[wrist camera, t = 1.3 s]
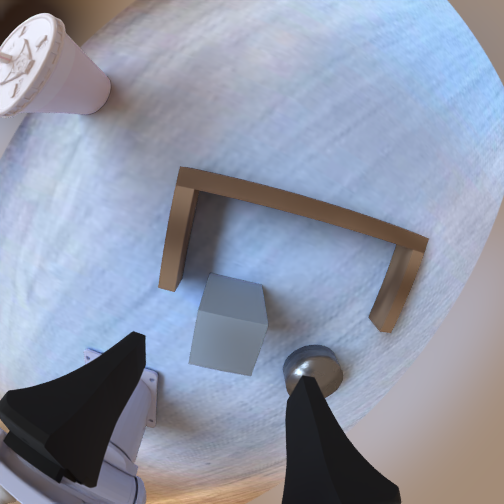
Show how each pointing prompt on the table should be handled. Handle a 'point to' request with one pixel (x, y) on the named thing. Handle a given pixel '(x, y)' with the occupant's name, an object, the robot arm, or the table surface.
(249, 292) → the grey block
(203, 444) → the table surface
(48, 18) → the smoothie
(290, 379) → the grey puck
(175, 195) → the walnut bay
